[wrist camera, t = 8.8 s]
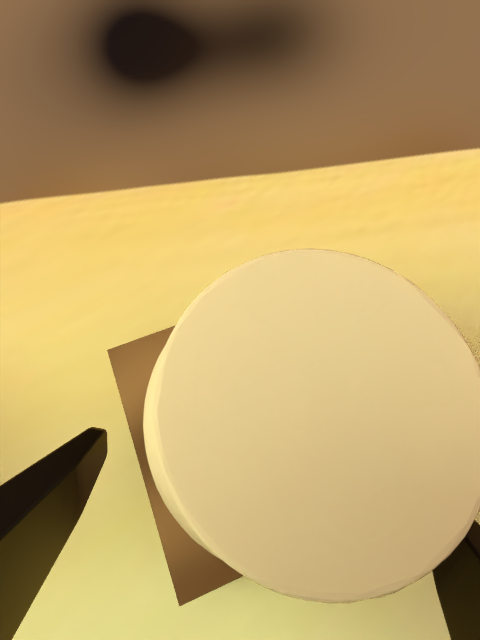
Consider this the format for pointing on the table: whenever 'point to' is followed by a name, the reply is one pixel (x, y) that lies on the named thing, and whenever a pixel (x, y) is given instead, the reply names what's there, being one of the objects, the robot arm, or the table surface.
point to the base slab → (180, 549)
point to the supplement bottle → (317, 426)
